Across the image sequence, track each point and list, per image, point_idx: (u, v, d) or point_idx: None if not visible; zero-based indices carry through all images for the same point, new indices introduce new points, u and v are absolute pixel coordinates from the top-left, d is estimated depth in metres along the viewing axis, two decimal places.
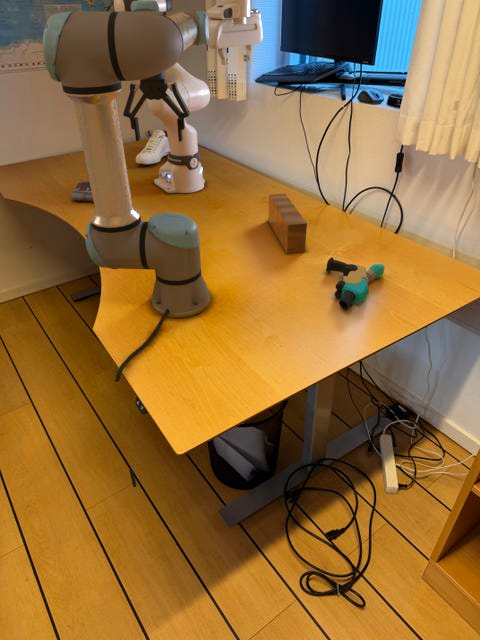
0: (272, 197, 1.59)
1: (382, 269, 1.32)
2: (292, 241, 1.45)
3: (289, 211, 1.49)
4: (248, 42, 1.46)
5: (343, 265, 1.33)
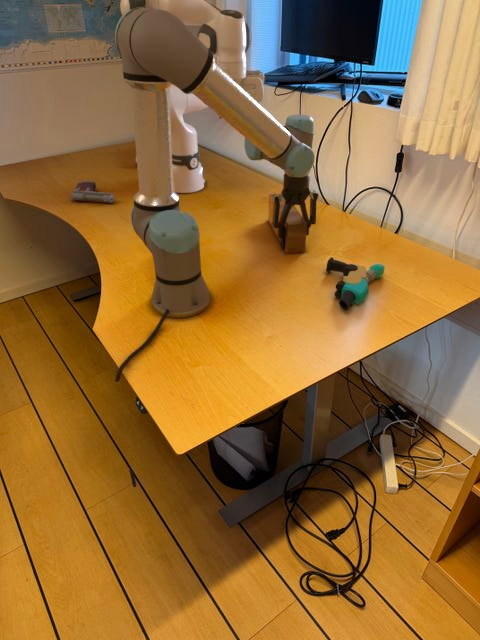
0: (272, 197, 1.59)
1: (382, 269, 1.32)
2: (292, 241, 1.45)
3: (289, 211, 1.49)
4: None
5: (343, 265, 1.33)
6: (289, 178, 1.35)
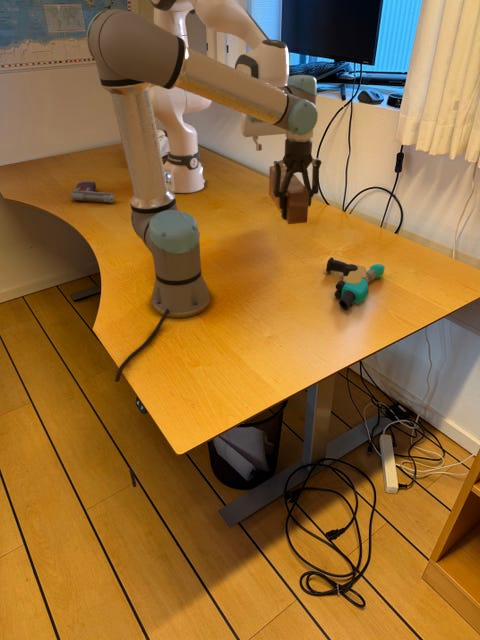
0: (273, 168, 1.53)
1: (382, 269, 1.32)
2: (294, 211, 1.39)
3: (290, 181, 1.44)
4: None
5: (343, 265, 1.33)
6: (291, 143, 1.29)
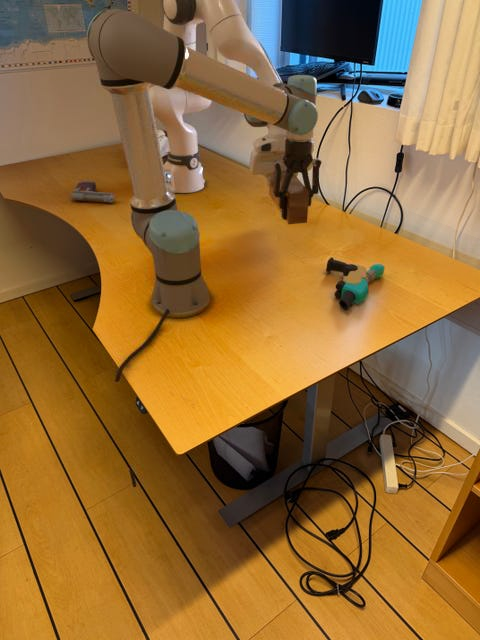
0: None
1: (382, 269, 1.32)
2: (294, 211, 1.39)
3: (291, 181, 1.44)
4: None
5: (343, 265, 1.33)
6: (291, 143, 1.29)
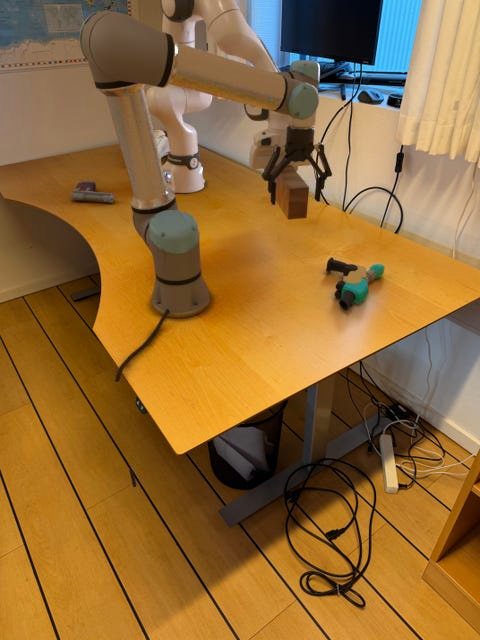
0: None
1: (382, 269, 1.32)
2: (294, 206, 1.39)
3: (290, 176, 1.43)
4: (293, 164, 1.51)
5: (343, 265, 1.33)
6: (293, 130, 1.26)
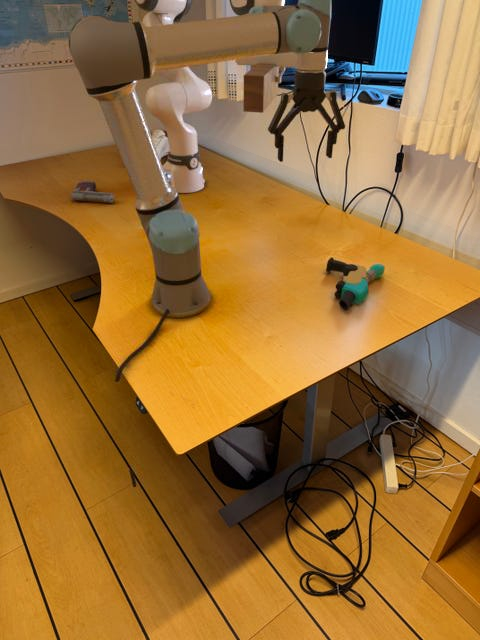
0: None
1: (382, 269, 1.32)
2: (249, 97, 1.35)
3: (261, 69, 1.39)
4: (278, 64, 1.45)
5: (343, 265, 1.33)
6: (302, 74, 1.14)
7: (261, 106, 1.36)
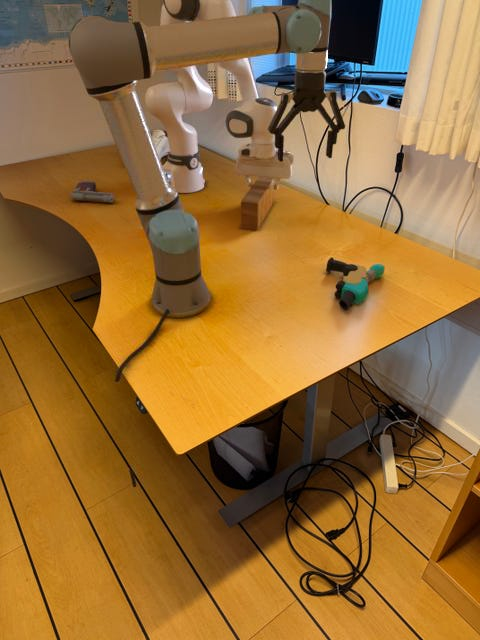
0: (258, 179, 1.73)
1: (382, 269, 1.32)
2: (245, 218, 1.59)
3: (256, 192, 1.63)
4: (272, 176, 1.68)
5: (343, 265, 1.33)
6: (302, 74, 1.14)
7: (256, 225, 1.60)
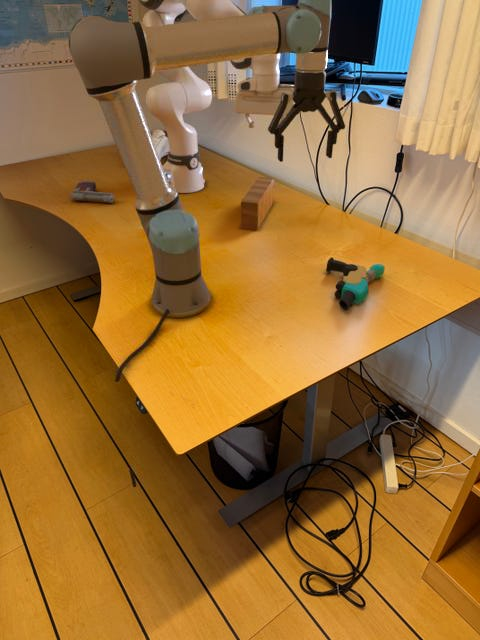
0: (258, 179, 1.73)
1: (382, 269, 1.32)
2: (245, 218, 1.59)
3: (256, 192, 1.63)
4: (274, 113, 1.55)
5: (343, 265, 1.33)
6: (302, 74, 1.14)
7: (256, 225, 1.60)
